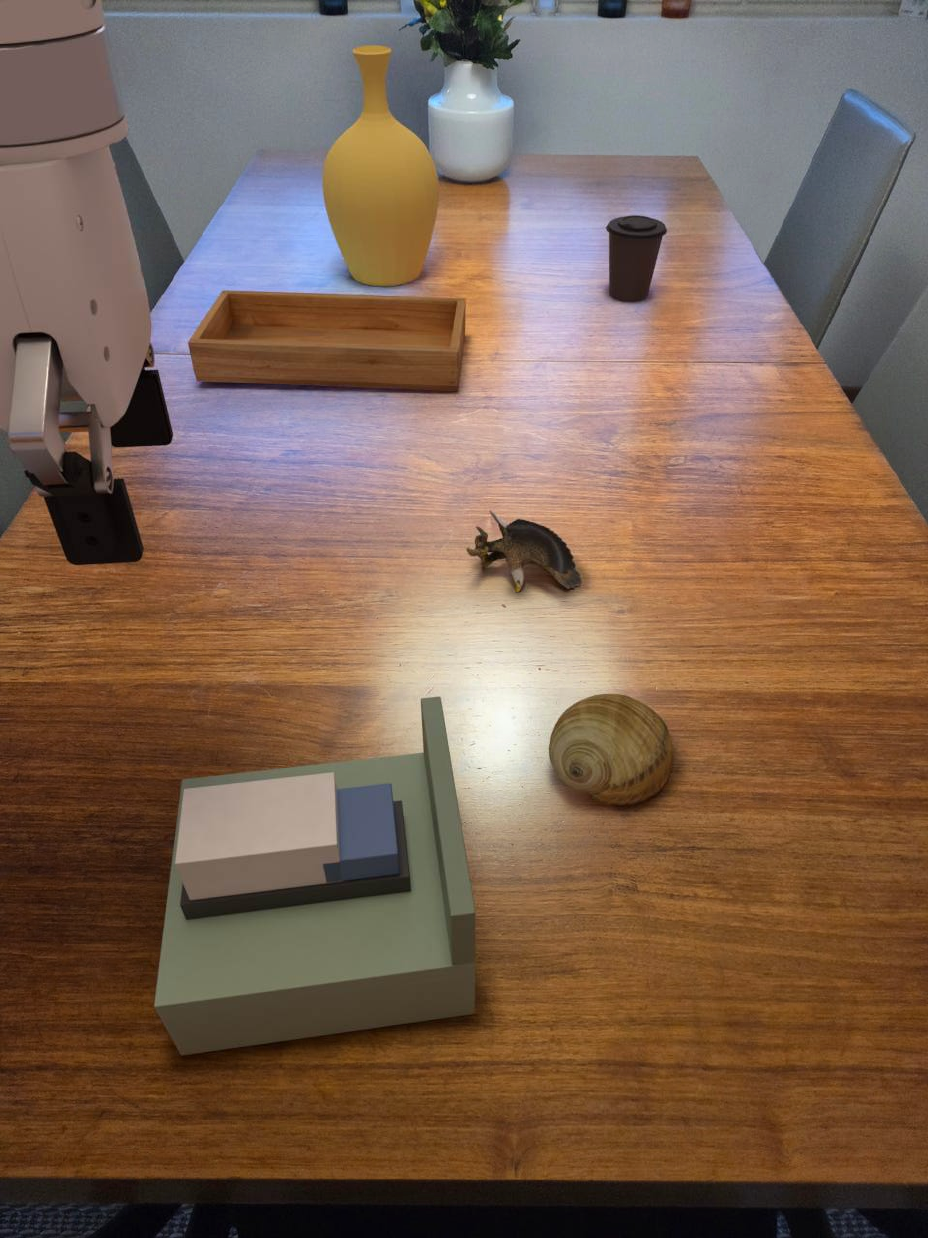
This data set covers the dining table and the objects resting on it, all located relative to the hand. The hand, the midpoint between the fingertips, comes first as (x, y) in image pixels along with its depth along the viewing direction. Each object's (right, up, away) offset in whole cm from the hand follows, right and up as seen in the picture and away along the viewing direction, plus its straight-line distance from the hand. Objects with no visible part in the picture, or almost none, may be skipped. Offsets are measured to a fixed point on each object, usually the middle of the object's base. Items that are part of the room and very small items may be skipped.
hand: (126, 496), depth 42 cm
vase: (+5, +45, +87) cm, 98 cm away
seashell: (+27, -16, +19) cm, 37 cm away
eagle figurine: (+22, -2, +35) cm, 41 cm away
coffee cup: (+39, +39, +80) cm, 98 cm away
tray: (+1, +26, +65) cm, 70 cm away
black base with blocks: (+7, -20, +7) cm, 22 cm away
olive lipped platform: (+8, -24, +11) cm, 27 cm away
